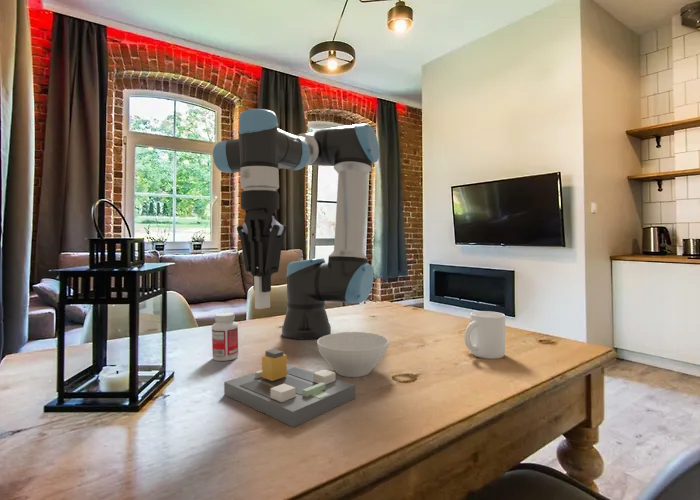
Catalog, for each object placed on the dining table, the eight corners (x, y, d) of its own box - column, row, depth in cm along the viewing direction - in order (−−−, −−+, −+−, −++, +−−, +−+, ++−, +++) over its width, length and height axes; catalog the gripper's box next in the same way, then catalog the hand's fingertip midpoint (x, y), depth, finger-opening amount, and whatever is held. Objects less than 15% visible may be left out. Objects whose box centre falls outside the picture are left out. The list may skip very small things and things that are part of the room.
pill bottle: (237, 353, 104) (236, 311, 104) (239, 360, 98) (238, 315, 98) (212, 355, 102) (211, 312, 101) (212, 362, 96) (211, 317, 96)
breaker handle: (262, 377, 78) (261, 352, 78) (277, 372, 80) (276, 348, 80) (272, 381, 76) (271, 355, 75) (286, 376, 78) (286, 350, 78)
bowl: (366, 390, 78) (366, 354, 78) (302, 375, 87) (302, 343, 86) (400, 367, 92) (400, 337, 91) (342, 356, 100) (342, 329, 100)
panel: (224, 394, 76) (224, 373, 76) (285, 374, 88) (285, 355, 87) (293, 427, 63) (292, 401, 63) (354, 398, 74) (354, 375, 74)
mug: (478, 363, 94) (478, 320, 94) (452, 355, 101) (452, 314, 101) (512, 356, 100) (512, 315, 99) (486, 348, 107) (486, 309, 107)
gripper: (224, 191, 81) (227, 307, 82) (265, 186, 73) (268, 314, 74) (254, 194, 87) (257, 301, 88) (296, 189, 79) (298, 308, 80)
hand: (262, 307), depth 81 cm, fingers closed
